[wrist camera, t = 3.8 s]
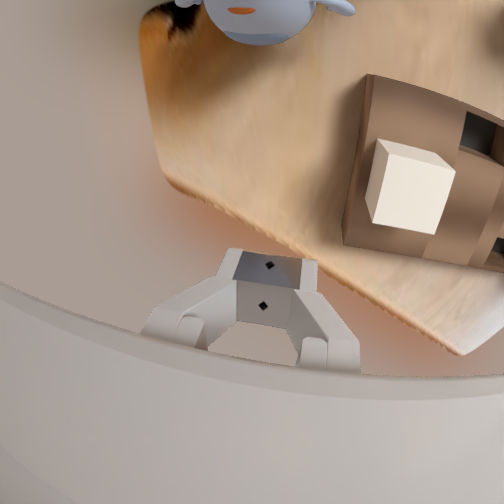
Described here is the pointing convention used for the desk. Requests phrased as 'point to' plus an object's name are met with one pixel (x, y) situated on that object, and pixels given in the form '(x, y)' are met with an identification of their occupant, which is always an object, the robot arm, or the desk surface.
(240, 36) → the toy figure
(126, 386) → the robot arm
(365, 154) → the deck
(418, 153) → the block
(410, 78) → the desk surface
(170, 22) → the desk surface
